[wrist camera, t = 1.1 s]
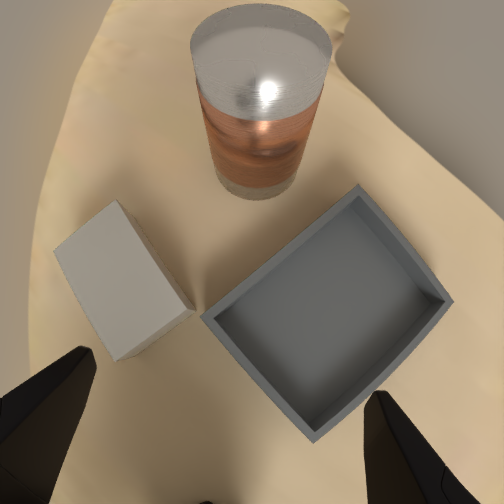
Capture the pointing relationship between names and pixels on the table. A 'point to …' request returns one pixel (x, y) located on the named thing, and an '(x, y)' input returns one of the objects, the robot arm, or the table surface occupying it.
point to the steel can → (259, 93)
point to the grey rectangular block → (121, 282)
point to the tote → (331, 314)
